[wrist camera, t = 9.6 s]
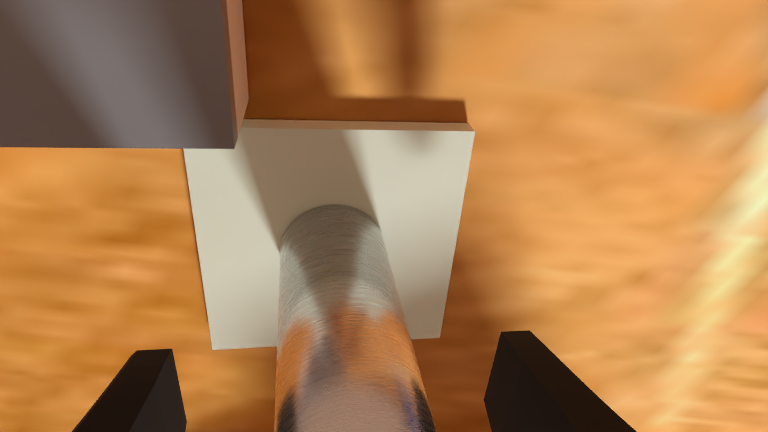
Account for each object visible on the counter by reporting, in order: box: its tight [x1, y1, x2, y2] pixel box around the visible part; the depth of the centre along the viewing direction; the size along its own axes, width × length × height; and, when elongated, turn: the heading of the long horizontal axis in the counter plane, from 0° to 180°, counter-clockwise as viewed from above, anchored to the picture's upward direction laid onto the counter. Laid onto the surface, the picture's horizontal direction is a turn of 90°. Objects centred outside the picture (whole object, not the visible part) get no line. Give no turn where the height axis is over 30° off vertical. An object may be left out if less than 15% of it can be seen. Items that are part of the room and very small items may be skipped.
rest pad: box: [183, 119, 475, 350], centre depth 14 cm, size 7×7×1 cm
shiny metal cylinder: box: [274, 204, 437, 432], centre depth 10 cm, size 3×3×9 cm
